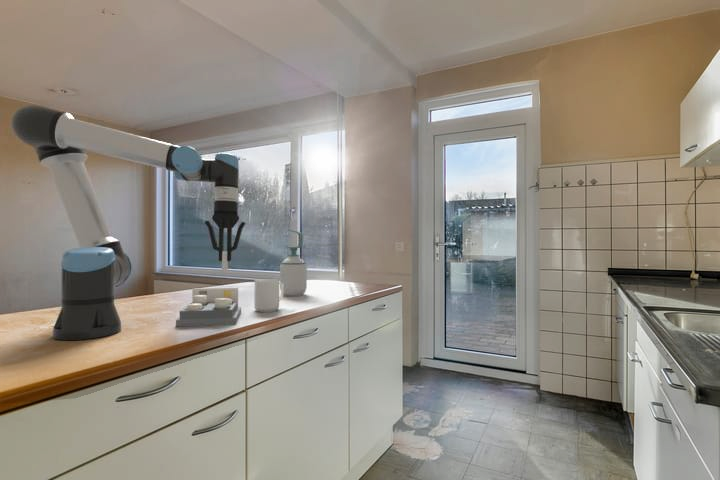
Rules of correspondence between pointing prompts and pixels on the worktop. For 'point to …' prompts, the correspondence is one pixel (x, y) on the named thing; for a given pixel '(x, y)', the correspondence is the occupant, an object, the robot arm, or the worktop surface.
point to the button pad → (211, 309)
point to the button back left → (200, 299)
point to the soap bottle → (294, 271)
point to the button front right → (222, 303)
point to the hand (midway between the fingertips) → (224, 271)
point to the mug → (267, 295)
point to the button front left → (194, 306)
